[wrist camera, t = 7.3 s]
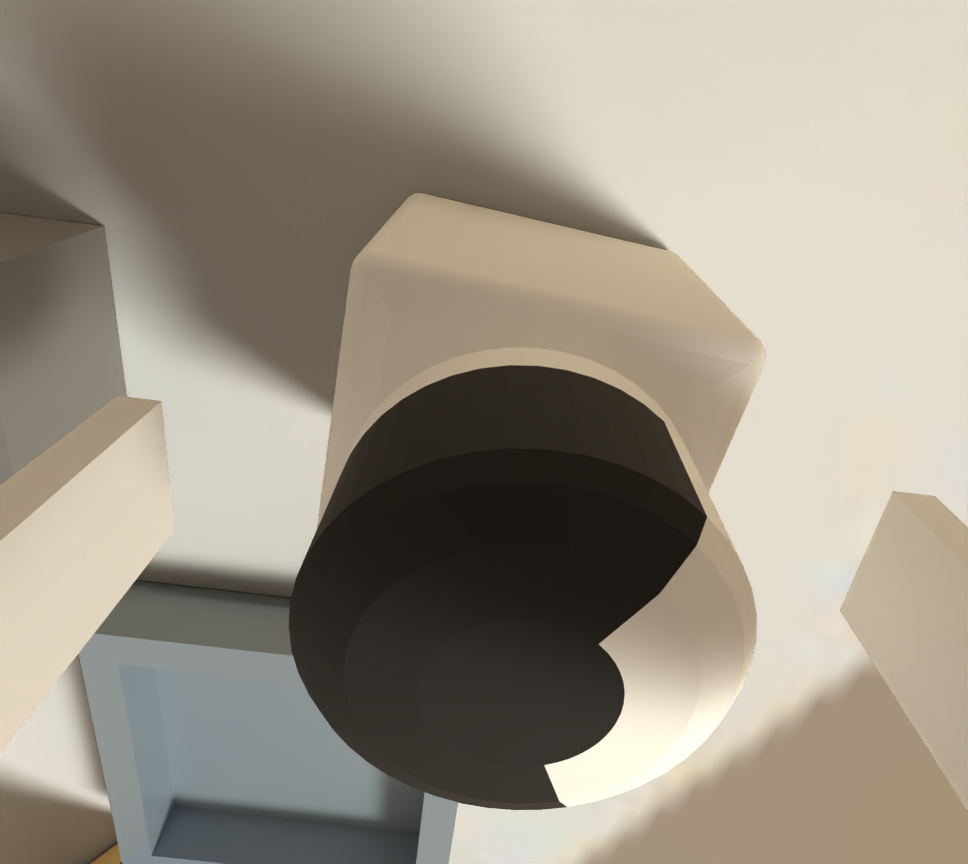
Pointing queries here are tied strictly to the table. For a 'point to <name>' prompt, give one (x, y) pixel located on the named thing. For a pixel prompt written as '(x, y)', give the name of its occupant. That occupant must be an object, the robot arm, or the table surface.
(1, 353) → the button housing
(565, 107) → the table surface
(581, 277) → the medicine bottle
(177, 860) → the tray
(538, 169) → the table surface
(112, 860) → the puzzle cube
